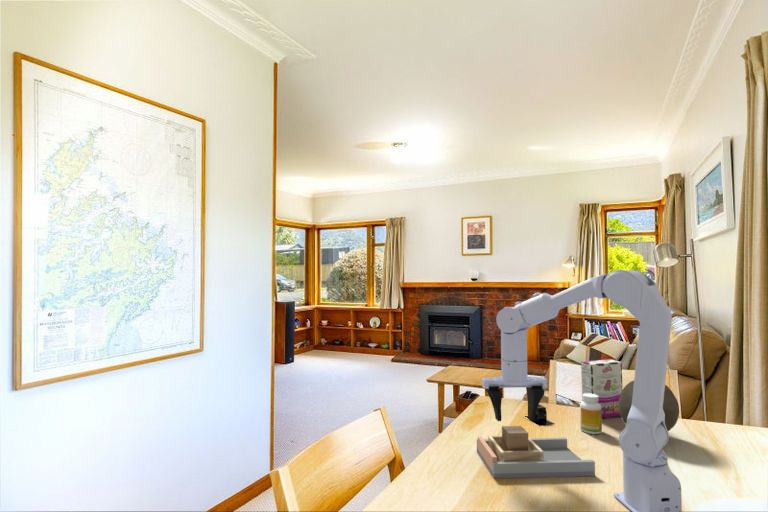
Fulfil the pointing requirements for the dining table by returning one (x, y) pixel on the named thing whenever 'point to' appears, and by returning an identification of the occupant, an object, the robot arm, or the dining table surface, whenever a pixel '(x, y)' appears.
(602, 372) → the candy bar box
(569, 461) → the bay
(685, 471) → the dining table surface
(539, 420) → the black box
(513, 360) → the robot arm
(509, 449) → the walnut block
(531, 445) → the crate
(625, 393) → the dark grey ball
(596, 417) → the supplement bottle
